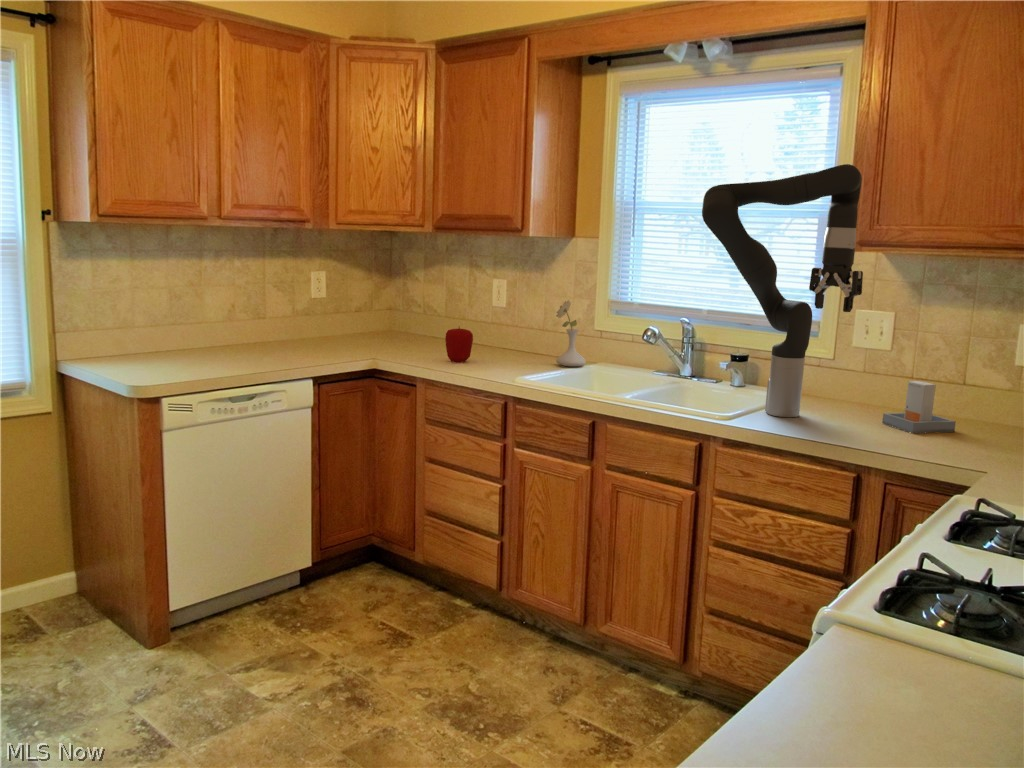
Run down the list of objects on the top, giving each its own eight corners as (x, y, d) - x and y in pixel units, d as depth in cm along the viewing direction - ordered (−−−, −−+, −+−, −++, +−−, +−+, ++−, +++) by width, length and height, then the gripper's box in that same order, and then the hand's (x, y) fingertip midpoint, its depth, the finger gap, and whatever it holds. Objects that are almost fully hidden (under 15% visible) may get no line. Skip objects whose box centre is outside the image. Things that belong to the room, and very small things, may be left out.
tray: (882, 423, 249) (883, 413, 249) (922, 422, 253) (924, 412, 253) (912, 433, 238) (913, 422, 237) (954, 431, 242) (955, 421, 241)
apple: (474, 363, 329) (475, 327, 327) (447, 363, 327) (448, 327, 324) (469, 359, 339) (470, 324, 337) (443, 359, 337) (443, 324, 334)
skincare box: (902, 422, 247) (907, 381, 245) (914, 422, 249) (919, 380, 247) (919, 427, 242) (925, 384, 240) (931, 426, 244) (936, 384, 241)
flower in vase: (572, 362, 340) (575, 298, 336) (592, 367, 332) (595, 300, 327) (546, 365, 332) (549, 299, 328) (566, 369, 324) (569, 301, 319)
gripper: (806, 244, 226) (800, 307, 229) (853, 246, 214) (846, 313, 217) (826, 245, 230) (819, 307, 233) (873, 247, 218) (866, 312, 221)
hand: (832, 310), depth 225 cm, fingers open, 8 cm apart
